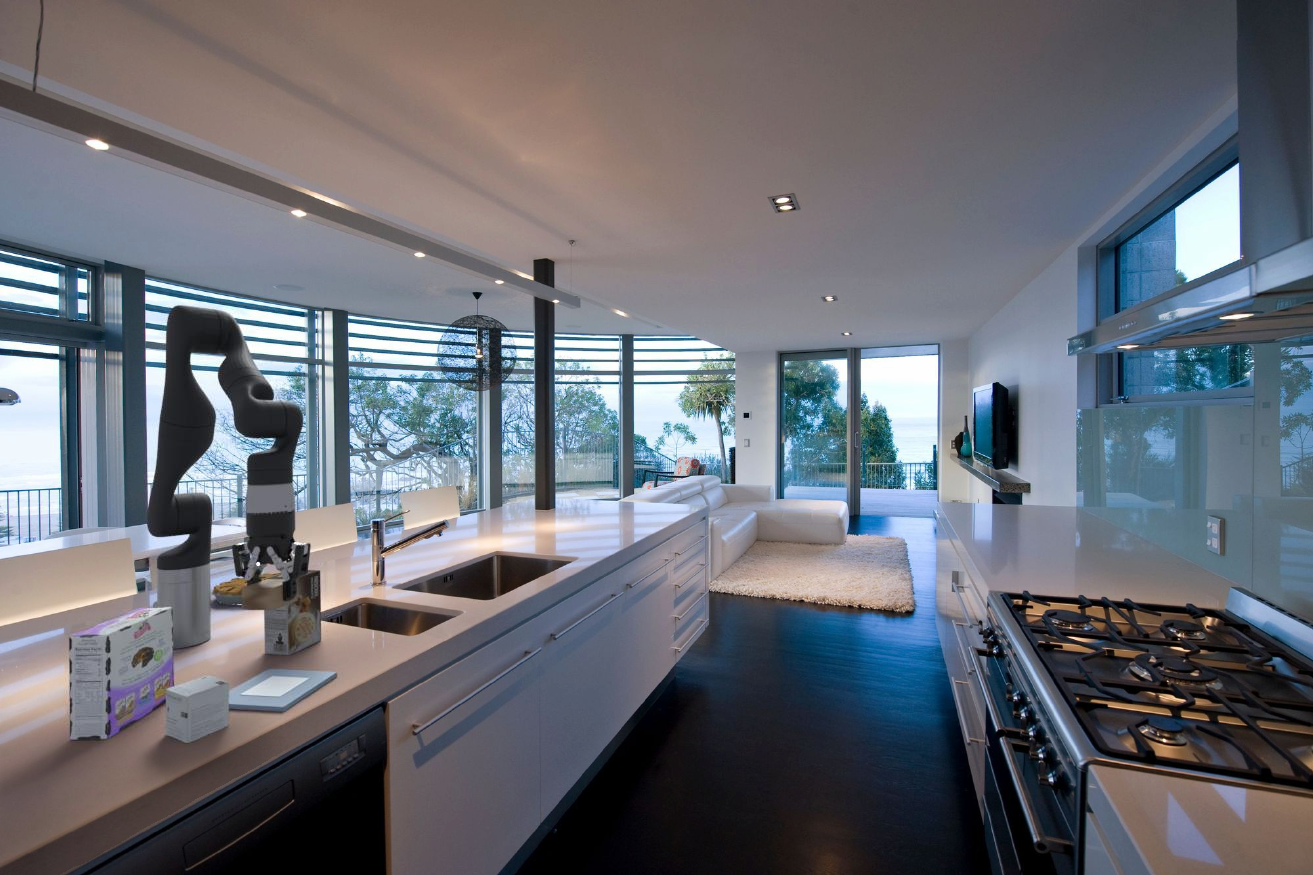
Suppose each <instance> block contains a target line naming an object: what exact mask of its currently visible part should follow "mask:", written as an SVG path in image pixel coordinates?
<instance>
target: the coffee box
mask: <svg viewBox="0 0 1313 875" xmlns="http://www.w3.org/2000/svg"><path fill="white" fill-rule="evenodd" d="M289 573H290V572H289ZM266 579H283V577H282V575H281V574H280V575H276V576H273V577H270V578H266ZM266 579H263V580H266ZM321 588H322V587H321V570H317V569H316V570H315V569H308V573H307V574H305V575H302V576H299V577H298V578H297V597H298V601H295V602H293V603H290V604H288V605H285V606H283V607H281V608H278V609H276V610H263V618H264V619H263V620H264V621H263V622H264V623H263V624H264V627H263V628H264V654H267V655H268V654H270V655H279V656H280V655H281V656H290V655H293V654H295V653H297V652H299V651H301V650H303V649H305V648H307V647H310V646H311V645H314V644H316V643H318V642H320V641H322V603H321V600H322V599H321V598H322V597H321V596H322V595H321V591H322V590H321Z"/></svg>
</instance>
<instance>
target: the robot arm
mask: <svg viewBox="0 0 1313 875" xmlns="http://www.w3.org/2000/svg"><path fill="white" fill-rule="evenodd" d="M192 353H198V354H199V353H200V354H212V355H218V354H220V355H224V356H225V358H224V359H223V361H222V362H221V364H220V366H219V367H218V370H217V380H218V384H219V386H220V388H221V389H222V391H223V392H224V394H225V395H226V397H227V398H228V400H229V402H231V403H230V404H231V407H232V411H233V414H232V415H233V422H234V423H233V425H234V428H235V429H236V431H237V432H238V433H239V434H240V435H241V436H243V437H245V438H249V439H275V440H274V442H273V444H272V446H271V447H270V448H268V449H266V450H261V451H256V452H253V453H251V454H250V455H248V457H247V460H246V478H247V479H246V480H247V481H246V483H247V485H246V494H245V529H246V530H245V532H246V534H245V535H246V536H247V537H249V538H248V541H247V542H246V541H244V542H241V543H240V542H239V543H236V544H232V546H231V551H232V557H233V558H232V559H233V564H234V565H233V566H234V570H235V571H234V572H235V576H236V578H245V579H246V580H247V586H248V585H251V584H254V583H258V582H261V581H262V578H259V577H260V576H261V574H263V571H264V569H265V568H267V566H268V565H273V566H275V569H276V570H277V571H279V573H281V575H282V577H283V579H284V580H285V581H282V583H283V601H290V600H292V599H294V598H295V596H296V594H297V578H298V577H299V576H302V575H305V574H307V573H308V570H309V563H310V554H311V546H312V545H311V543H310V542H303V543H302V542H296V540H295V538H294V534H295V531H296V494H295V488H294V466H293V465H294V458H295V454H296V450H297V445H298V442H299V439H300V436H301V433H302V430H303V427H304V414H303V411H302V409H301V408H300V407H299V405H298V404H297V403H296V402H293V401H288V400H274V399H275V392H274V389H273V387H272V386H271V384H270V383H269V381H268V380H267V378H266V377H265V376H264V374H263V373H262V372H261V371H260V370H259V368H258V367H257V365H256V362H255V361H254V359H253V356H252V354H251V350H250V348H249V346H248V344H247V341H246V339H245V336H244V335H243V332H242V330H241V328H240V325H239V324H238V322H237V320H236V319H235V317H234V316H233V315H232V314H231V313H229V312H227V311H224V310H221V309H214V308H207V307H200V306H199V307H198V306H192V305H182V304H181V305H179V304H178V305H174V306H173V307H172V308H171V309H170V311H169V313H168V315H167V320H166V329H165V372H164V373H165V374H164V386H163V394H162V402H161V408H160V409H161V410H160V414H159V423H158V433H157V446H156V448H157V450H156V459H155V460H156V461H155V470H154V473H153V474H154V475H153V480H152V485H151V490H150V495H149V499H148V505H147V511H146V526H147V530H148V532H149V535H151V536H152V537H155V538H169V537H179V536H186V535H188V537H187V539H186V540H185V541H184V542H182V543H181V544H179V545H177V546H175V547H174V548H171V549H169V550H166V551H163V552H162V553H161V554H159V555H158V556H157V558H156V597H157V598H156V600H155V601H154V602H153V604H152V608H156V607H172V611H173V650H175V649H183V648H188V647H192V646H196V645H199V644H203V643H205V642H207V641H208V640H210V639H211V636H212V634H211V633H212V631H211V629H212V628H211V622H212V621H211V619H212V618H211V617H212V616H211V614H212V612H211V607H212V604H211V595H212V592H211V551H212V530H213V527H212V526H213V510H214V509H213V504H212V499H211V497H210V496H209V495H208V494H207V493H206V492H186V493H175V492H176V490H177V488H178V485H179V483H180V482H181V480H182V478H183V476H185V474H186V473H187V472H188V471H189V470H190V469H191V468H192V467H193V466H194V465H195V464H196V463H197V462H199V460H200V459H201V458H202V457H203V456H204V455H205V454H206V453H207V451H208V450H209V449H210V447H211V446H212V444H213V442H214V436H215V429H216V422H217V421H216V420H217V413H216V410H215V407H214V406H213V403H212V402H211V401H210V400H211V399H209V397H208V396H207V395H206V393H205V392H204V390H203V389H202V386H201V385H200V384H199V383H198V381H197V379H196V378H195V375H194V373H193V370H192V364H191V356H192ZM289 572H290V573H289Z"/></svg>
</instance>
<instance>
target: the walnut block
mask: <svg viewBox="0 0 1313 875" xmlns="http://www.w3.org/2000/svg"><path fill="white" fill-rule="evenodd" d="M282 581H285V580H284V579H266V580H263V581H261V582H258V583H254V584H251V585H248V586H245V587H242V605H241V610H243V611H264V610H276V609H278V608H281V607H283V606H285V605H288V604H290V603H293V602H295V601H298V597H297V594H296V596H295V598H294V599H292V600H290V601H283V583H282Z"/></svg>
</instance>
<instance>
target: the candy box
mask: <svg viewBox="0 0 1313 875" xmlns="http://www.w3.org/2000/svg"><path fill="white" fill-rule="evenodd" d="M68 651H69V652H68V654H69V655H68V656H69V657H68V663H69V665H68V666H69V669H68V670H69V672H68V673H69V674H68V675H69V676H68V677H69V680H68V681H69V684H68V685H69V740H70V741H71V740H72V741H73V740H74V741H75V740H78V741H81V740H82V741H83V740H108V739H110V738H111V737H113V736H115V735H117V734H118V733H120V732H121V731H122V730H124V729H125V728H128V727H130V726H131V725H132V724H133V723H135V722H137V721H138V720H140V719H142V718H143V717H145V716H146V715H148V714H150V712H153V711H154V710H156V709H158V708H159V707H160V706H162V705H164V704H166V689H168V688H171V687H174V686H175V675H174V674H175V672H174V671H175V670H174V669H175V667H174V649H173V611H172V607H156V608H153V607H139V608H137V609H134V610H131V611H129V612H126V613H124V614H122V615H119V616H116V617H114V618H111V619H108V620H107V621H103V622H101V623H99V624H96V625H94V626H91V627H89V628H85V629H83V630H81V631H78V632H76V633H73V634H71V635H69V636H68Z"/></svg>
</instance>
